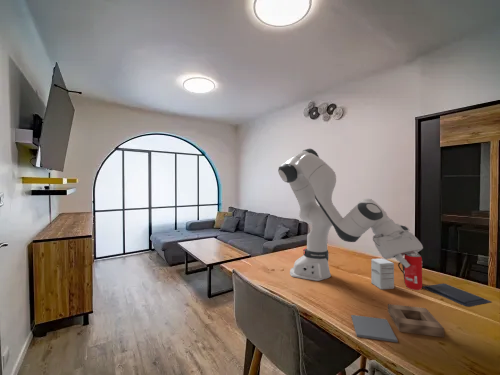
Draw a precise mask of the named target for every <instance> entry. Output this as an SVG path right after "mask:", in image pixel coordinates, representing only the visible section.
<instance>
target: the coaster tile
mask: <svg viewBox="0 0 500 375" xmlns="http://www.w3.org/2000/svg"><path fill="white" fill-rule="evenodd" d="M350 316H351V320H352V323H353V327H354V331H355V335H356V337H358V338H364V339H369V340H370V339H372V340H378V341H385V342H386V341H387V342H392V343H398V338H397V336H396V334H395V333H394V332H395V331H393V328H392V327H391V325H390V323H389V322H388V320H387V319H386V318H382V317H381V318H379V317H372V316H371V317H370V316H363V315H356V314H351V315H350Z"/></svg>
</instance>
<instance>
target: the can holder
mask: <svg viewBox="0 0 500 375" xmlns="http://www.w3.org/2000/svg"><path fill="white" fill-rule="evenodd" d="M387 312H388V314H389V317H390V318H391V320H392V321H393V323H394V324H395V326H396V328H397V330H398V332H399V333H401V332H402V333H409V334H416V335H424V336H431V337H432V336H433V337H438V338H439V337H440V338H445V328H444V326H443V325H442V324H441V323H440V322H439V321H438V320H437V319H436V318H435V317H434V315H433V314H432V313H431V312H430V311H429V310H428V309H427V308H426V307H420V306H419V307H418V306H409V305H408V306H407V305H402V304H401V305H400V304H390V303H388V304H387Z"/></svg>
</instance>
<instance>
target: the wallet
mask: <svg viewBox="0 0 500 375" xmlns="http://www.w3.org/2000/svg"><path fill="white" fill-rule="evenodd" d="M422 288H423V289H424V290H427V291H429V292H431V293H434V294H436V295H438V296H440V297H443V298H445V299H448V300H450V301H451V302H454V303H456V304H459V305H461V306H463V307H468V308H471V307H476V306H481V305H485V304H490V303H492V300H489V299H486V298H484V297H482V296H479V295H476V294H473V293H471V292H469V291H466V290H464V289H461V288H457V287H455V286H453V285H449V284H448V283H438V284H436V283H435V284H431V285H430V284H429V285H422ZM422 288H421V289H422Z"/></svg>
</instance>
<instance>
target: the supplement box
mask: <svg viewBox="0 0 500 375" xmlns="http://www.w3.org/2000/svg"><path fill="white" fill-rule="evenodd" d="M370 264H371V265H370V266H371V267H370V268H371V270H370V271H371V272H370V273H371V280H370V281H371V284H373V286H375V287H377V288H378V289H380V290H390V289H391V290H392V289H395V263H394V262H392V261H390V260H389V259H385V258H383V257H382V258H372V259H371V263H370Z"/></svg>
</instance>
